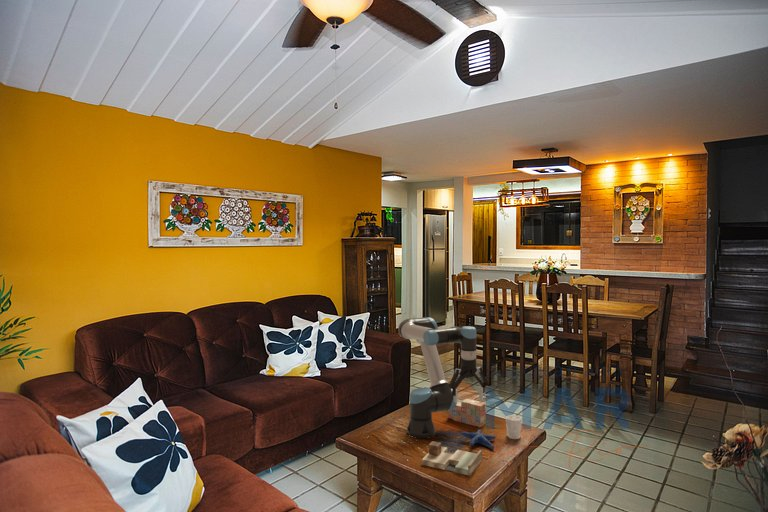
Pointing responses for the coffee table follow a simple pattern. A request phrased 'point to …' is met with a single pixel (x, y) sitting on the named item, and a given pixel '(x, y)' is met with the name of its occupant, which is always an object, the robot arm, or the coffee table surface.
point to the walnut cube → (434, 448)
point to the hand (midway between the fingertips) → (468, 400)
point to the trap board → (454, 461)
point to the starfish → (480, 438)
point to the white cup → (513, 426)
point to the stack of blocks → (469, 412)
